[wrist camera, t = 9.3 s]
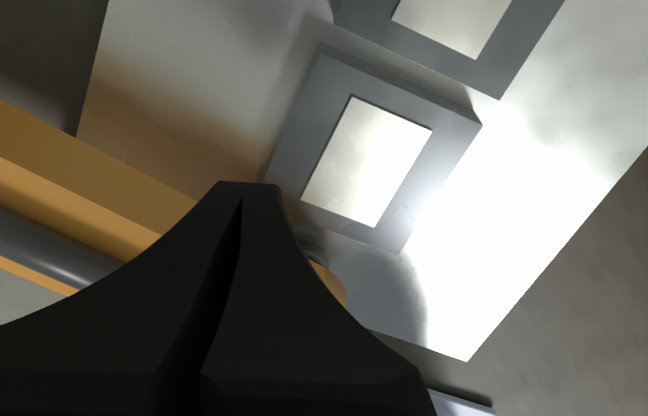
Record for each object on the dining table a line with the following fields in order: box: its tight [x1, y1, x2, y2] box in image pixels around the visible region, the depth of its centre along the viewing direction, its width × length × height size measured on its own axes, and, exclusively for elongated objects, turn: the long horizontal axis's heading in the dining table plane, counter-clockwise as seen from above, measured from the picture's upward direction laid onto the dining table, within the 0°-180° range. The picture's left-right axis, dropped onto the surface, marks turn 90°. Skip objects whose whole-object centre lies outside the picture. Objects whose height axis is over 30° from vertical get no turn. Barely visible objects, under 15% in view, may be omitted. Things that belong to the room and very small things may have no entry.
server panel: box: [76, 0, 648, 361], centre depth 18 cm, size 18×18×3 cm
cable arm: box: [0, 99, 348, 311], centre depth 16 cm, size 20×4×4 cm, turn 56°
